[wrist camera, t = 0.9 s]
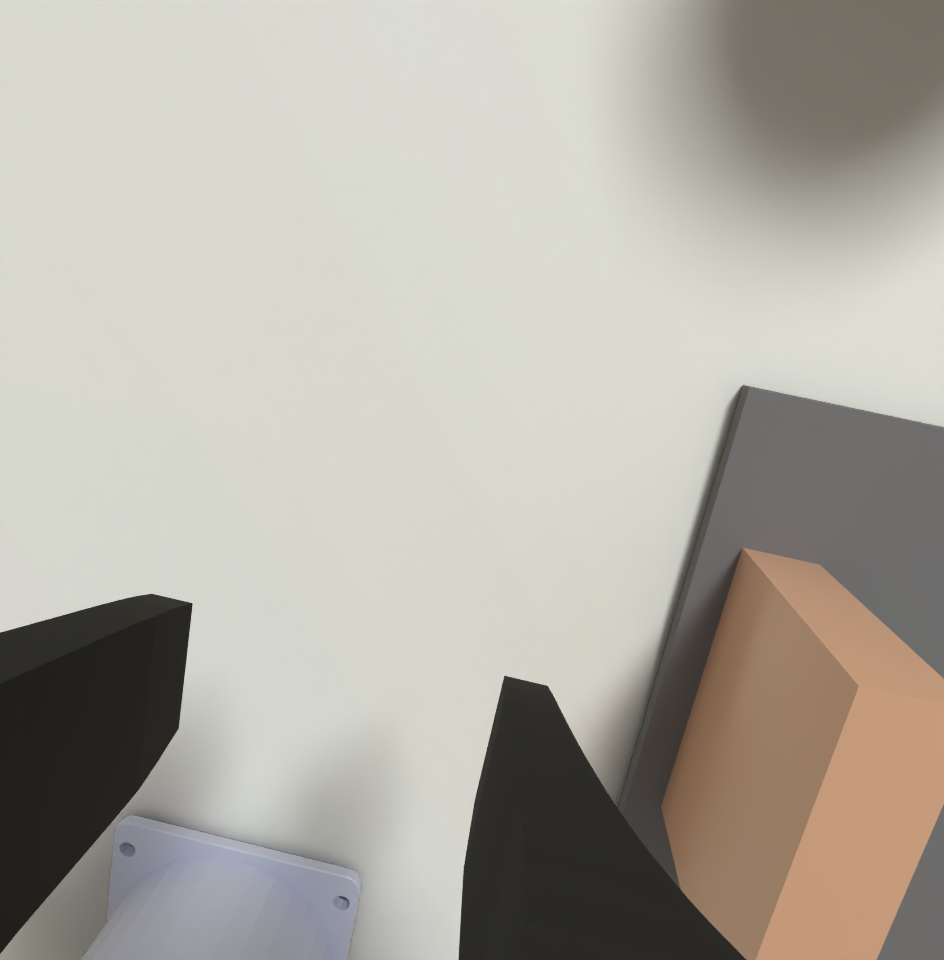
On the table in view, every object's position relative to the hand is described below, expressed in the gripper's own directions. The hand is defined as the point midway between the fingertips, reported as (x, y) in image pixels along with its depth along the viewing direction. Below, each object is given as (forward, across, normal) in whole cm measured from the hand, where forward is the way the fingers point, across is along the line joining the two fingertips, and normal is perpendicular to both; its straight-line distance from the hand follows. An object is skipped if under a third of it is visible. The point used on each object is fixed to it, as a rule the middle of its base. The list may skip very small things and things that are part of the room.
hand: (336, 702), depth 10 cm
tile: (+9, -9, +3) cm, 13 cm away
